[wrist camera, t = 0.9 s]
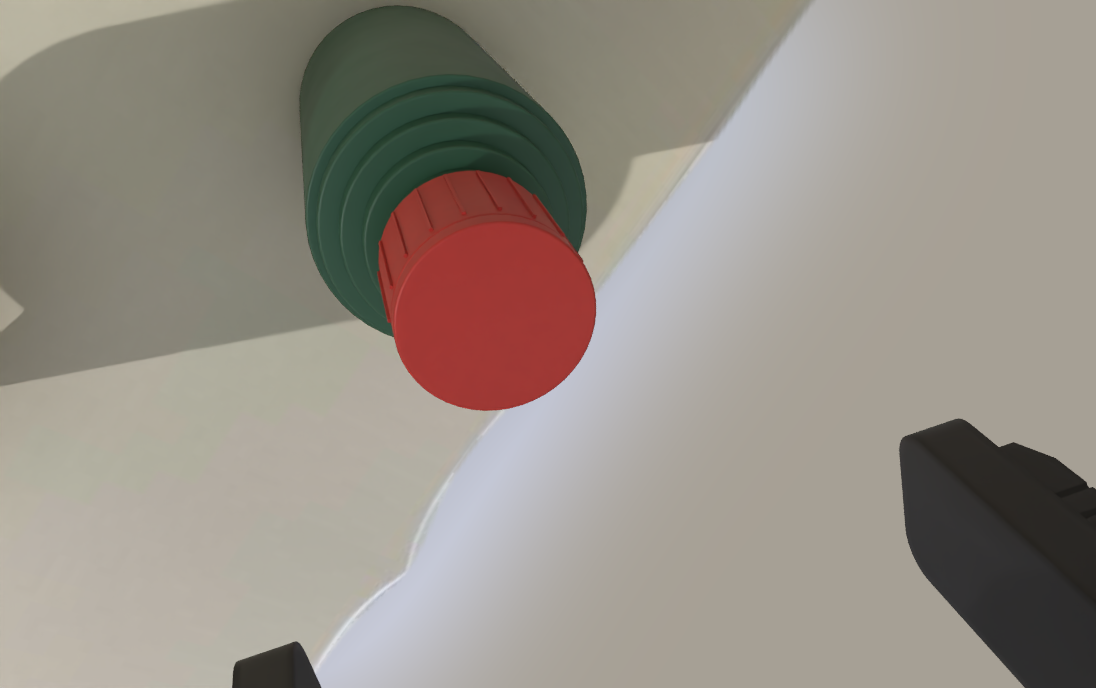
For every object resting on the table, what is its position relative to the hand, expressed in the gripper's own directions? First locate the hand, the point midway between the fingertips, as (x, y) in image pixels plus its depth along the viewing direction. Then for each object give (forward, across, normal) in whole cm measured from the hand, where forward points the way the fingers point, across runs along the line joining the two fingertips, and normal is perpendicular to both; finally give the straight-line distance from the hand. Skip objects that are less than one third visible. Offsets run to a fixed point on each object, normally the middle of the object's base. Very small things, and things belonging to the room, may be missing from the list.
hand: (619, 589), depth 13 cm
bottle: (+28, 0, 0) cm, 28 cm away
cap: (+12, 0, 0) cm, 12 cm away
